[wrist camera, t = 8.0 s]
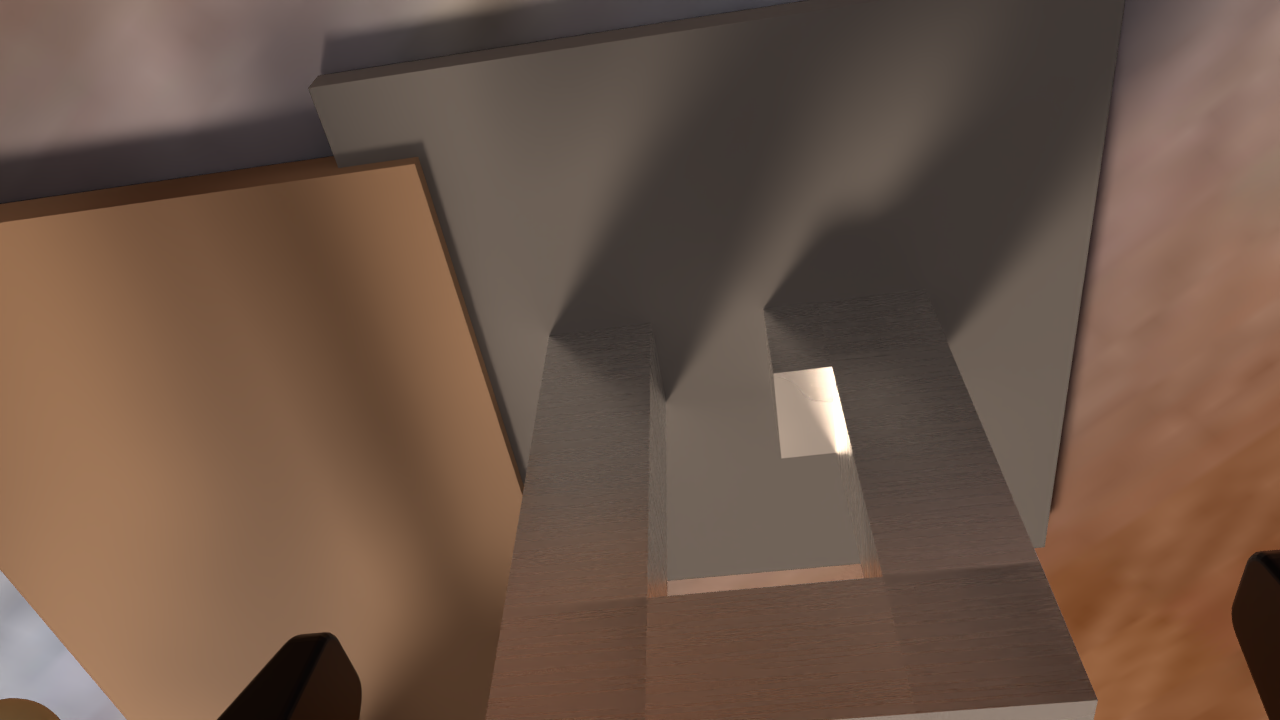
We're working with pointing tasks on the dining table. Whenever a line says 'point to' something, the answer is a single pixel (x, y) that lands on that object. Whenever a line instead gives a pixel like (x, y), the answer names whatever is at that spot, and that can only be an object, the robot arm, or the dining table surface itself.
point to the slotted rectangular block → (792, 614)
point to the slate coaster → (766, 221)
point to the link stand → (252, 439)
